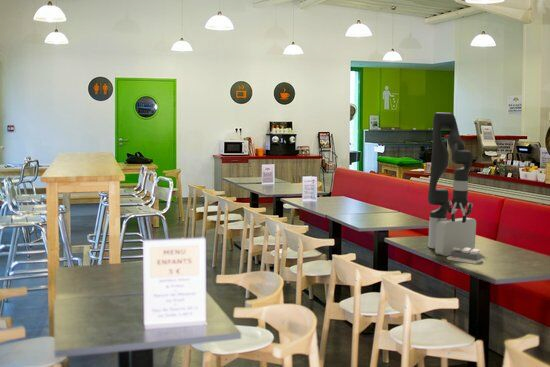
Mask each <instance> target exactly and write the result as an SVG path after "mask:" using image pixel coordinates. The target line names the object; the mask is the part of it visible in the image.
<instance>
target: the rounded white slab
mask: <svg viewBox="0 0 550 367" xmlns="http://www.w3.org/2000/svg"><path fill="white" fill-rule="evenodd" d="M462 218H463V217H461V218H460V217H459V218H458V217H457V218H455V221H454V222H452V220H451V218H450V219H447V220H443V221H439V222H438V223H437V226H436V242H435V249H434V252H435V254H436V255H439V256H445V257H446V256H447V257H449V256H451V252H452V251H454V250H455V249H453V247H457V248H463V249H464V248H465V247H467V248H471V250H473V249H476V248H475V246H476V232H477V230H476V229H477V220H476V218H472V217H466V222H465V223H462ZM459 251H462V250H459Z"/></svg>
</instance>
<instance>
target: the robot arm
mask: <svg viewBox="0 0 550 367" xmlns="http://www.w3.org/2000/svg"><path fill="white" fill-rule="evenodd" d="M442 130H447V131H448V130H450V133H449V134H448V137H447V144H448V147H449V148H450V150H451V151H450V152H451V161H452V162H453V164H456V165H462V167H460V168H456V169H454V173H453V174H454V176H453V183H452V198H451V200H450V198H449V197H450V193H449V190H448V189H447V188H437V184H438V182H439V181H440V179H441V177H442V176H443V174H444V173H445V172H446V170H447V168H448V167H449V159H450V158H449V157H450V153H449V151H448V148H447V147H446V144H445V143H444V141H443V138H442V133H441V131H442ZM465 148H466V147H465V144H464V142H463V140H462V138H461V135H460V132H459V127H458V124H457V120H456V117H455V115H454V113H453V112H435V113H434V114H433V117H432V150H431V156H430V158H431V159H430V178H429V184H428V193H427V201H428V204H429V205H432V206H439V207H438V208H437V209H434V210H431V211H430V212H429V223H428V243H427V247H428V248H430V249H434V250H435V242H436V226H437V223H438V222H439V221H443V220H448V219H447V218H448V213H449V214H451V216H450V219H451V220H452V222H454V221H455V219H456V212H457V210H458V209H459V210H461V213H462V217H461V218H462V223H465V222H466V218H468V217H467V216H468V215H469V216H470V215H471V213H472V211H473V210H472V209H473V207H474V203H472V202H471V203H470V202H469V201H468V198H469V173H470V169H471V167H472V163H473V161H474V154H473V152H472V151H471V150H465Z"/></svg>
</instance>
